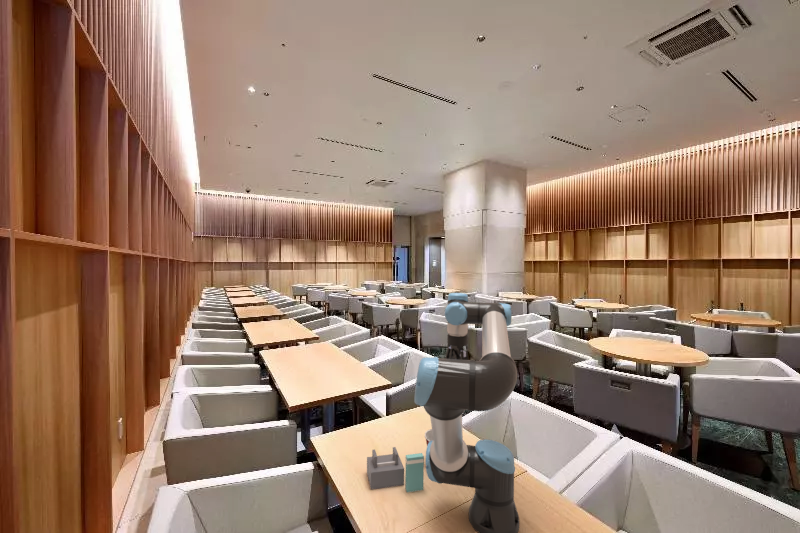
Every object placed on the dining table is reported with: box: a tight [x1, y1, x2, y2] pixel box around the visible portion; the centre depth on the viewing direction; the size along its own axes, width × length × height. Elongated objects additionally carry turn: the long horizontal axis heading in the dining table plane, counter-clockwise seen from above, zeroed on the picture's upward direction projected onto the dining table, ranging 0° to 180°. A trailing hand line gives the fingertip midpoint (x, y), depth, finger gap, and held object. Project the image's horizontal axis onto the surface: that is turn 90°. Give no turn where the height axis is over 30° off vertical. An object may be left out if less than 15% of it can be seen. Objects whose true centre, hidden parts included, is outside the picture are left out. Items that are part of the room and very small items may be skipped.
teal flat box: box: [404, 452, 425, 493], centre depth 125 cm, size 2×6×12 cm, turn 103°
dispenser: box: [366, 446, 405, 491], centre depth 131 cm, size 10×12×10 cm
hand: (456, 390), depth 134 cm, fingers open, 13 cm apart
